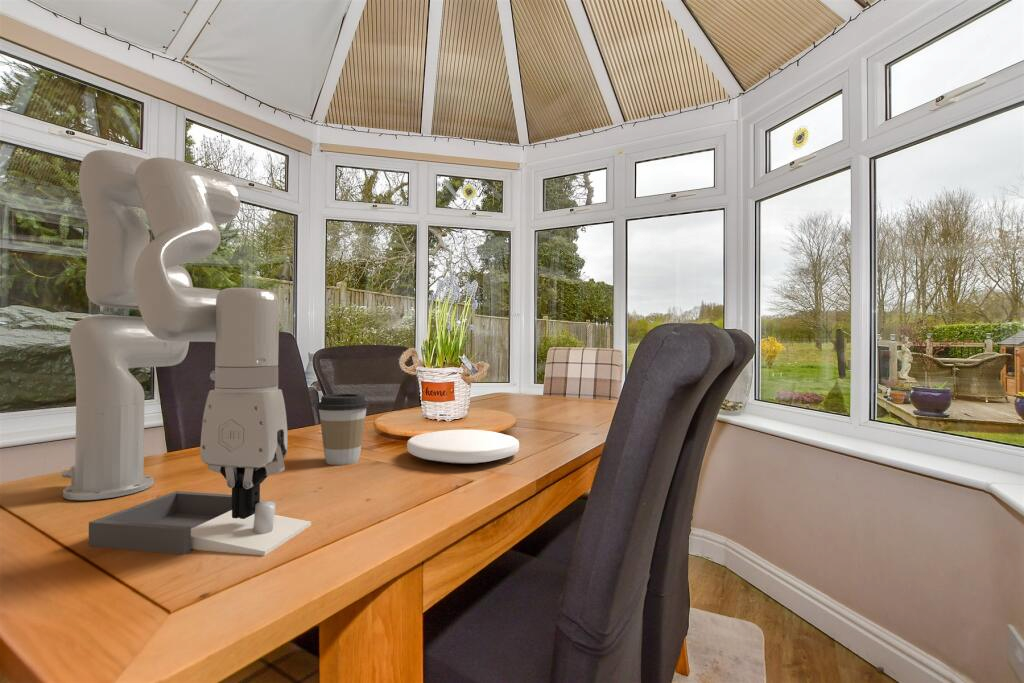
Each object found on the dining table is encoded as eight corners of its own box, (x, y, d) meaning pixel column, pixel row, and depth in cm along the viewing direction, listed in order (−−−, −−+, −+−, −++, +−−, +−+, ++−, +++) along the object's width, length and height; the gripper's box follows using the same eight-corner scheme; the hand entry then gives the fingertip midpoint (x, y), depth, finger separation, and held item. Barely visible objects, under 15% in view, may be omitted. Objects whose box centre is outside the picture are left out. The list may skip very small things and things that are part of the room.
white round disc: (433, 425, 132) (528, 430, 127) (431, 449, 132) (527, 455, 126) (387, 432, 105) (506, 439, 100) (385, 462, 104) (504, 471, 99)
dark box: (88, 553, 61) (88, 522, 61) (176, 516, 74) (176, 491, 74) (183, 562, 59) (184, 529, 59) (256, 523, 72) (257, 496, 72)
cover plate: (178, 545, 61) (182, 506, 61) (235, 517, 71) (239, 484, 71) (263, 563, 59) (268, 523, 59) (310, 532, 69) (314, 497, 69)
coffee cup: (373, 455, 116) (374, 393, 116) (360, 467, 105) (361, 398, 105) (325, 455, 115) (326, 393, 115) (307, 467, 104) (308, 398, 104)
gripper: (175, 380, 63) (173, 521, 62) (280, 383, 60) (278, 529, 60) (219, 376, 70) (217, 502, 70) (313, 379, 68) (312, 509, 67)
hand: (245, 514), depth 65 cm, fingers closed
